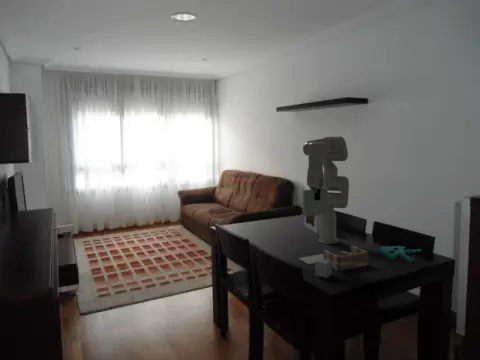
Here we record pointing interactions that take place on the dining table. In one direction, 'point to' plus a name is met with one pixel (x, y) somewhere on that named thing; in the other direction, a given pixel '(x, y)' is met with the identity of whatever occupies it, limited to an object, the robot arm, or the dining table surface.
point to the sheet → (315, 202)
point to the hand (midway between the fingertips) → (315, 199)
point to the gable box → (313, 223)
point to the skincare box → (323, 267)
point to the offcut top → (344, 253)
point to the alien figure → (397, 252)
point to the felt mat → (311, 258)
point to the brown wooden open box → (348, 259)
